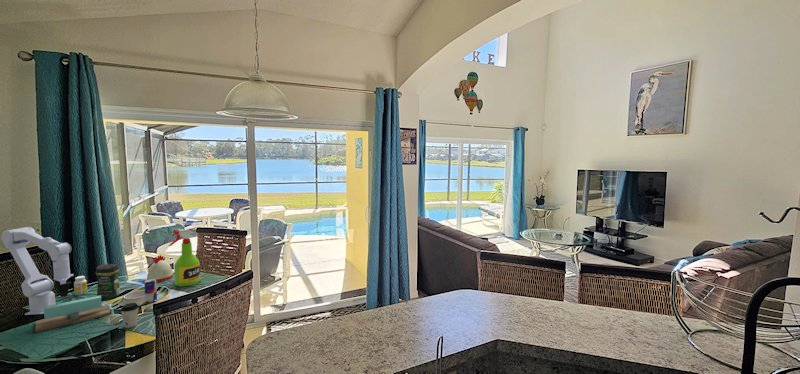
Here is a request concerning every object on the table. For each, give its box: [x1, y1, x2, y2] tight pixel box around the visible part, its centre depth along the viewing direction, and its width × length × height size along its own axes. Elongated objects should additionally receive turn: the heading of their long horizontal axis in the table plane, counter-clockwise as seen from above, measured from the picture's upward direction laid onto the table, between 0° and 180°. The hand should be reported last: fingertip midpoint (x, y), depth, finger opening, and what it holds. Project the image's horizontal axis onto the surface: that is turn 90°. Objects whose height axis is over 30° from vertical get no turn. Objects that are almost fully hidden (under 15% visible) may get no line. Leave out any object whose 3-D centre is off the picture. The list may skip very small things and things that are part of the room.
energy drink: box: [143, 278, 158, 303], centre depth 186 cm, size 5×5×12 cm
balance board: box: [34, 304, 112, 333], centre depth 166 cm, size 12×26×4 cm, turn 136°
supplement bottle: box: [73, 275, 88, 296], centre depth 194 cm, size 5×5×10 cm
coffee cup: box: [119, 302, 140, 329], centre depth 160 cm, size 7×7×10 cm
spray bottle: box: [168, 229, 201, 287], centre depth 210 cm, size 14×18×35 cm
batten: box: [43, 295, 103, 319], centre depth 165 cm, size 20×4×5 cm, turn 133°
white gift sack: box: [146, 254, 174, 283], centre depth 219 cm, size 14×14×15 cm
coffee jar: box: [95, 263, 121, 300], centre depth 190 cm, size 10×8×19 cm
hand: (63, 294), depth 169 cm, fingers open, 7 cm apart
